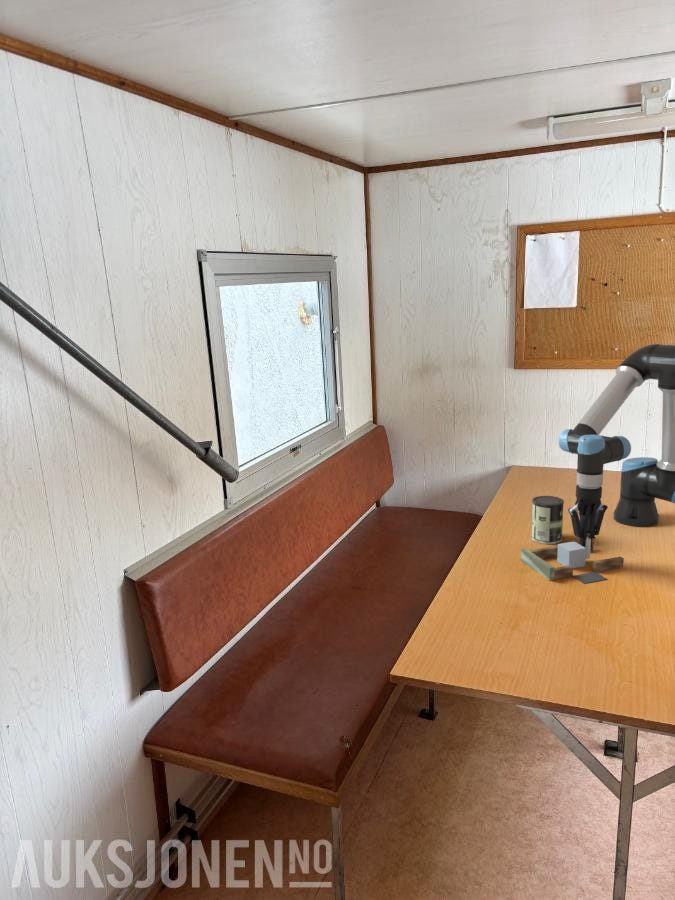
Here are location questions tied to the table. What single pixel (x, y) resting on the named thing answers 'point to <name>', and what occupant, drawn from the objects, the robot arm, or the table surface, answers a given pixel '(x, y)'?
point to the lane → (548, 571)
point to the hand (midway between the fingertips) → (585, 556)
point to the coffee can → (547, 519)
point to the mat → (589, 577)
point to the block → (571, 554)
